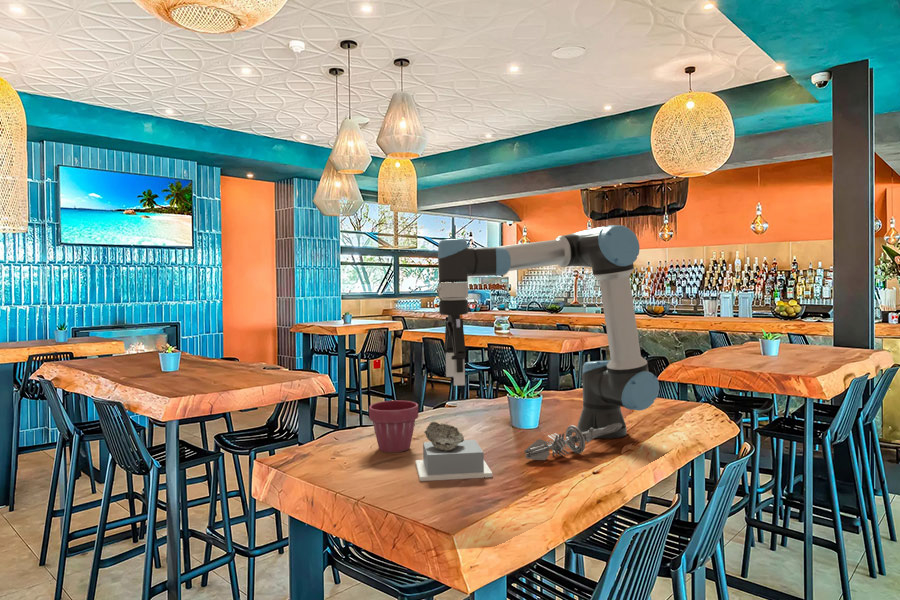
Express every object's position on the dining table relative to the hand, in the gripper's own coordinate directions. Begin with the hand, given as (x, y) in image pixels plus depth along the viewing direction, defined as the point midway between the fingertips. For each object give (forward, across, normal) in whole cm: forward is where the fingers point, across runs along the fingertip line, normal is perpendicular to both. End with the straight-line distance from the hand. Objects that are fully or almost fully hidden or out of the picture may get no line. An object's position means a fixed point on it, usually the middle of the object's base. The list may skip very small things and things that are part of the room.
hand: (455, 380), depth 153 cm
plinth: (+23, +2, -2) cm, 23 cm away
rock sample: (+17, +2, -3) cm, 17 cm away
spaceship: (+23, -7, +35) cm, 42 cm away
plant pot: (+23, -21, -15) cm, 35 cm away
